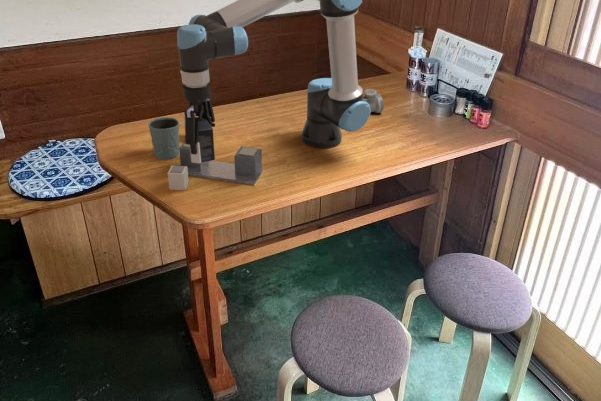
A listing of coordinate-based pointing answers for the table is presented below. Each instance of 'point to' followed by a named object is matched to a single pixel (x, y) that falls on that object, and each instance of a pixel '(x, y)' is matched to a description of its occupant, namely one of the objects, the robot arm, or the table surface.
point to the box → (206, 141)
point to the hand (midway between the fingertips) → (202, 154)
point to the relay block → (178, 178)
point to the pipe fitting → (374, 100)
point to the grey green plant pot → (165, 137)
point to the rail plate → (226, 166)
